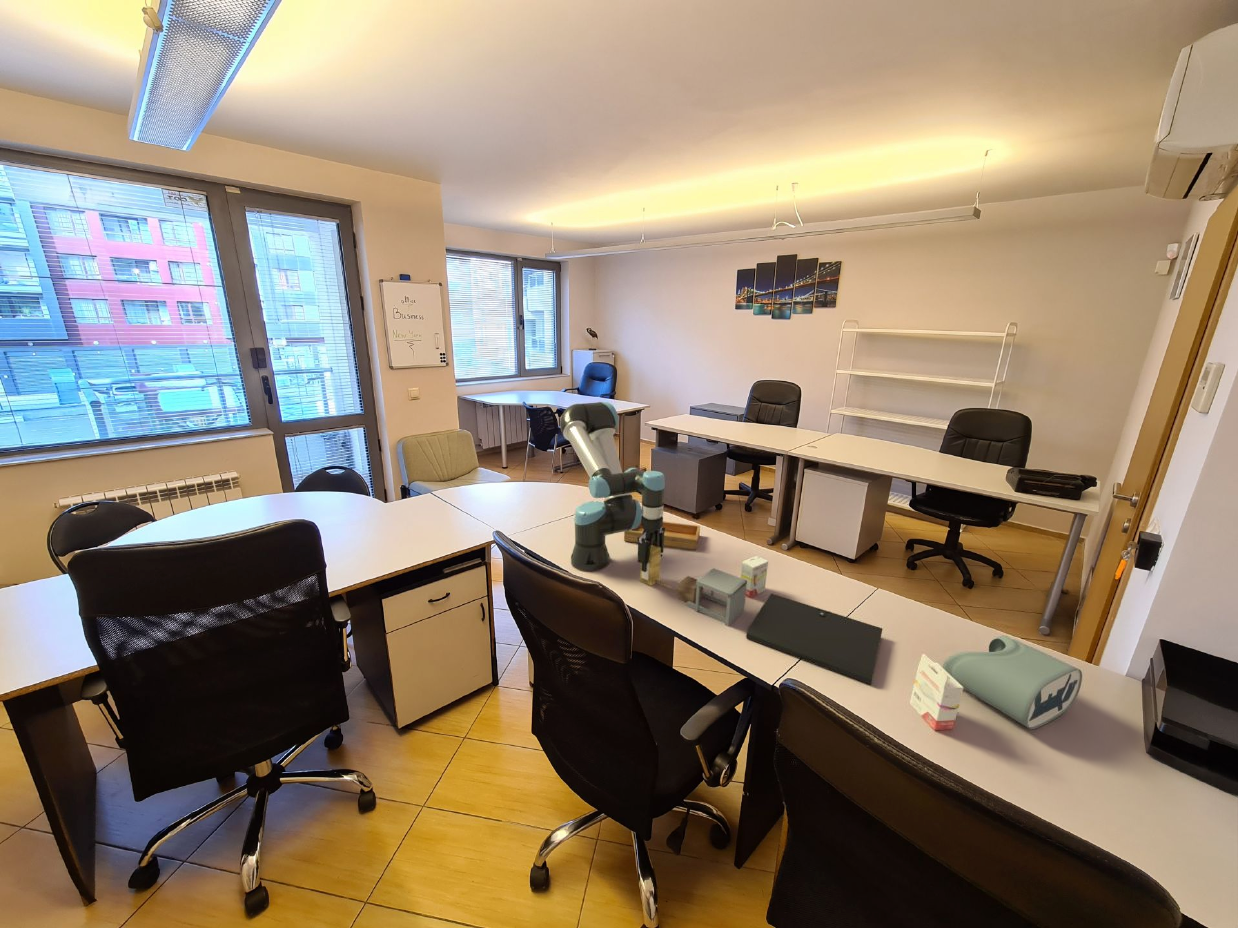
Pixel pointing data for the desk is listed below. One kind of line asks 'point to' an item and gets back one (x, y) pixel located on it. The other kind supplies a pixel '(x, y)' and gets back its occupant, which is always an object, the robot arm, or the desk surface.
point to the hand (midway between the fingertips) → (650, 575)
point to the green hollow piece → (1017, 680)
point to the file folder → (818, 636)
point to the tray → (671, 535)
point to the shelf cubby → (725, 586)
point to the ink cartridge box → (936, 695)
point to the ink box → (754, 575)
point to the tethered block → (684, 589)
